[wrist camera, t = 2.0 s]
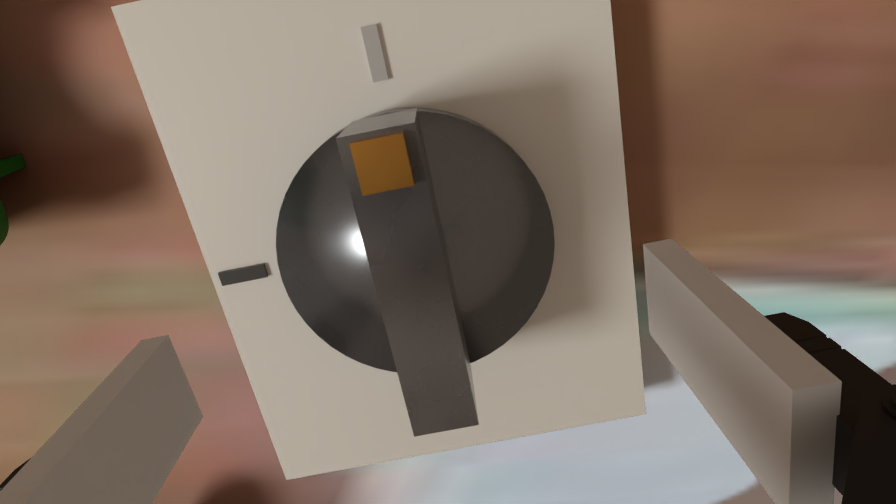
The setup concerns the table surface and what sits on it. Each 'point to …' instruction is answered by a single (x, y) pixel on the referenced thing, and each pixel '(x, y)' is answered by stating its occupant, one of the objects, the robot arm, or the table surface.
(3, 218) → the clamp
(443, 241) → the dial
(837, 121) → the table surface
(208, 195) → the dial board
